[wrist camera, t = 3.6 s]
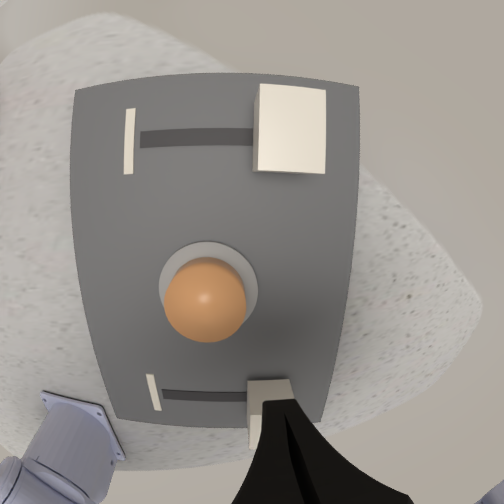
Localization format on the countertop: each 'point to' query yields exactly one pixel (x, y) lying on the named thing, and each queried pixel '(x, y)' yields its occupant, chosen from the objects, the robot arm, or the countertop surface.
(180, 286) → the button
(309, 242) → the panel
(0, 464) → the robot arm
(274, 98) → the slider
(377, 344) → the countertop surface
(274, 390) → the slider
